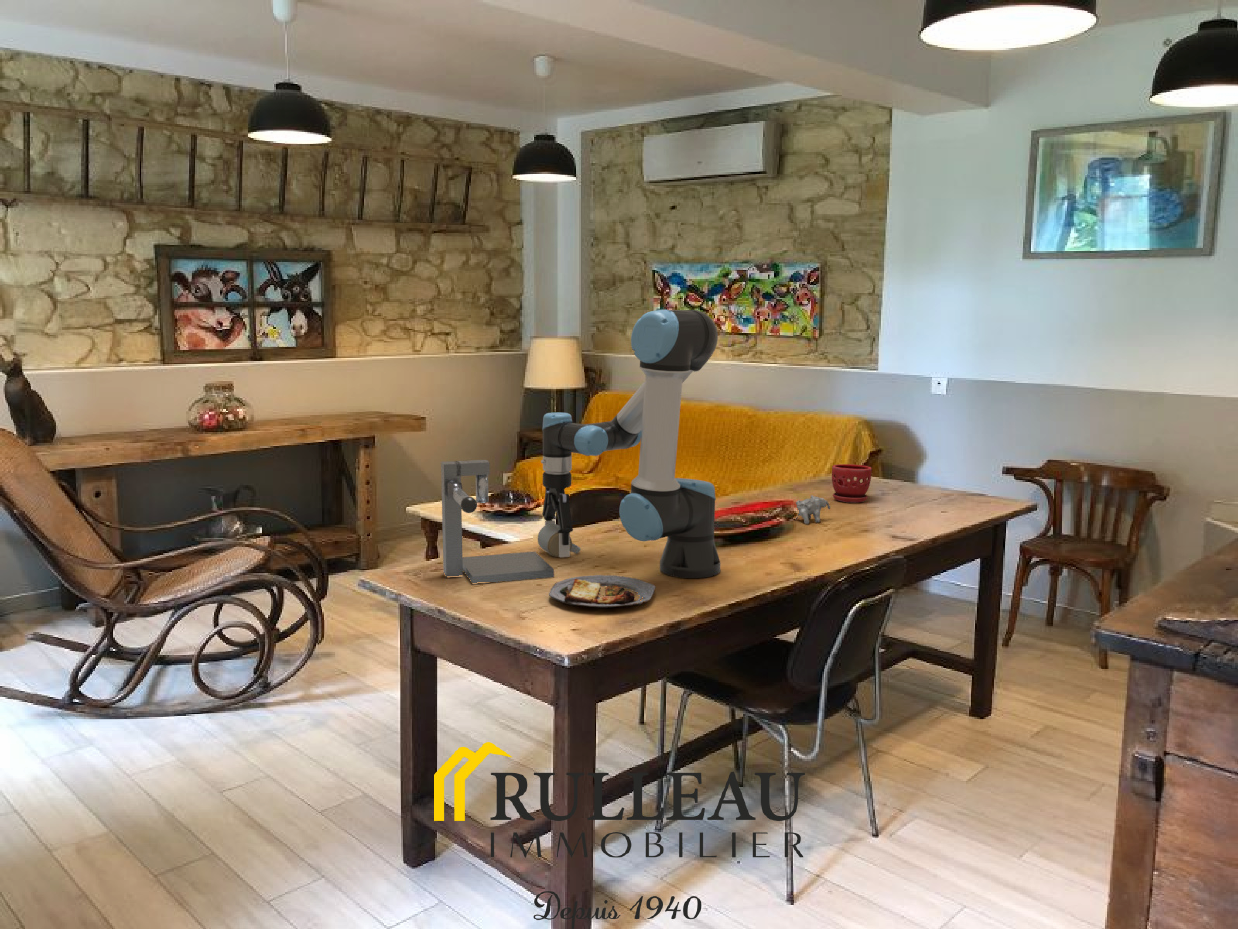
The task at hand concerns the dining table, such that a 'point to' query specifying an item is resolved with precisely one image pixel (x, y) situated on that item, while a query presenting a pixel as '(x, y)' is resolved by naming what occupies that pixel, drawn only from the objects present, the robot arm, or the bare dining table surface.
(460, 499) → the lever
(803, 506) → the elephant statuette
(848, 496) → the plant pot
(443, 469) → the press
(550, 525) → the ceramic mug
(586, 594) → the food plate
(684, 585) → the dining table surface
